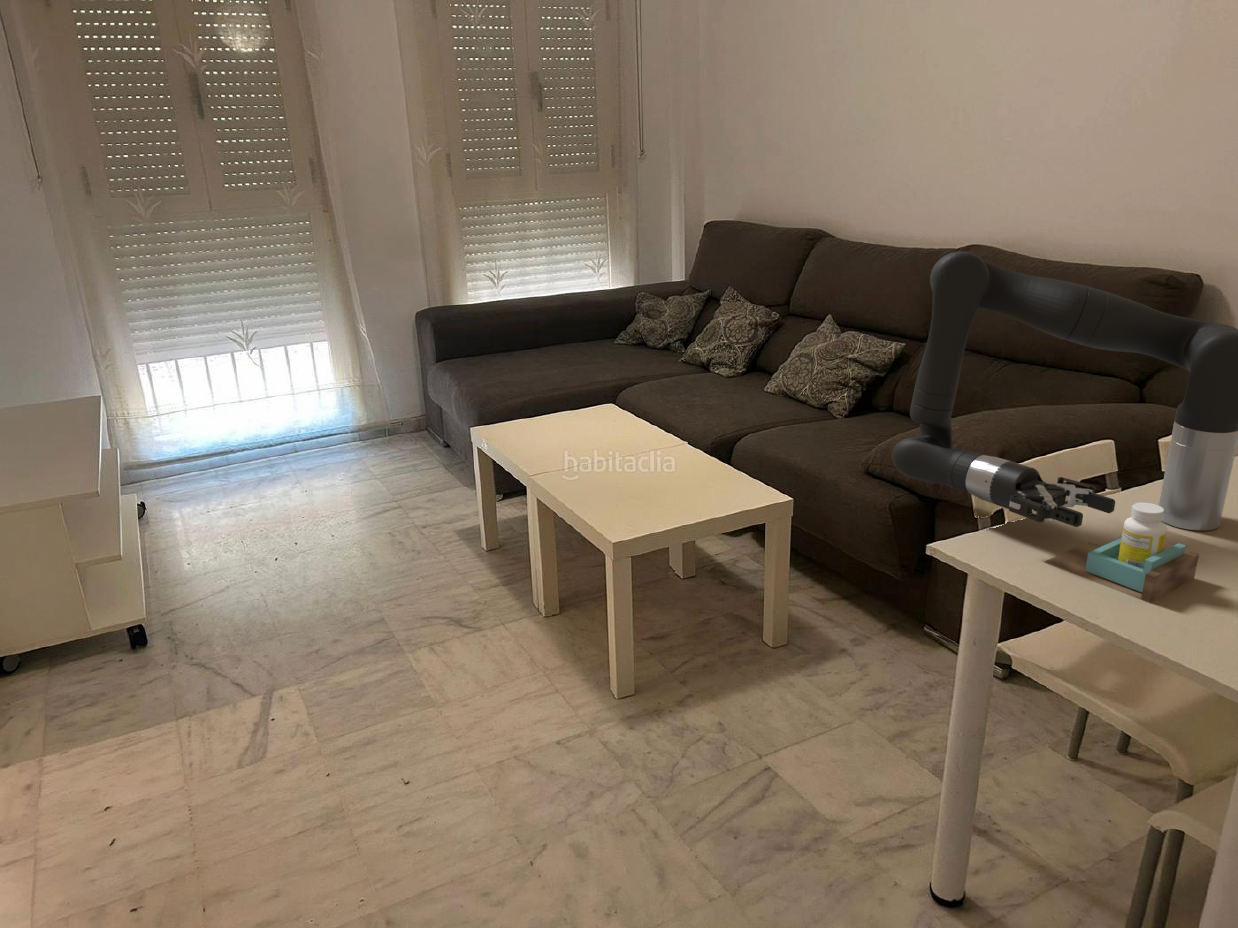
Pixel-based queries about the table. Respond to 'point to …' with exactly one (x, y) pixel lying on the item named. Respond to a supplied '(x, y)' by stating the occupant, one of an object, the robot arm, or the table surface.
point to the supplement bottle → (1142, 534)
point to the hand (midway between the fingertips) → (1097, 513)
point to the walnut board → (1155, 580)
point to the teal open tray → (1125, 574)
